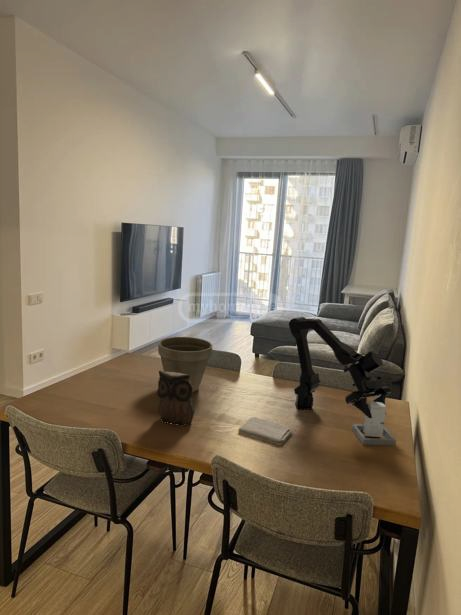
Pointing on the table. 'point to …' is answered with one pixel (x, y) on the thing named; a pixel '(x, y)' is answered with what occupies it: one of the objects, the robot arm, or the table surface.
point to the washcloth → (265, 430)
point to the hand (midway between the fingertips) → (378, 416)
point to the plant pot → (185, 357)
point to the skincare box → (375, 419)
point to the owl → (175, 398)
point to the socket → (373, 441)
